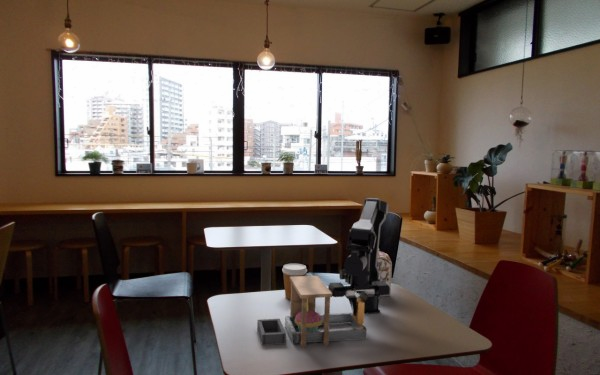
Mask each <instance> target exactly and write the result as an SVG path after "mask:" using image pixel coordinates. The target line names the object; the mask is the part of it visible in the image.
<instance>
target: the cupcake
mask: <svg viewBox="0 0 600 375" xmlns="http://www.w3.org/2000/svg"><path fill="white" fill-rule="evenodd" d="M319 314H320V313H319V312H318V311H316V310H315V311H312V310H308V298H307V317H306V331H318V328H319V326H321V325H323V324H322V317H321V315H319ZM301 315H302V311H301V312H299V313H298V314H297V315H296V316H295V323H296V324H297V327H298V332H301Z"/></svg>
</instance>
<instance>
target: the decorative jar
mask: <svg viewBox="0 0 600 375" xmlns="http://www.w3.org/2000/svg"><path fill="white" fill-rule="evenodd" d="M392 266H393V263H392V259H391V258H390V256H389V254H387V253H385V252H384V251H381V250H380V248H378V259H377V268H378V271H379V273H380V279H381V280H382V281H384V282H385V283H386V284H387V285H389V286H390V293H391V291H392V290H391V288H392V271H393V270H392V269H393V267H392ZM358 294H359V295H360V293H358ZM389 296H391V294H390V295H382V296H380V297H389ZM380 297H379V298H380Z"/></svg>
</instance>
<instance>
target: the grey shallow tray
mask: <svg viewBox="0 0 600 375" xmlns="http://www.w3.org/2000/svg"><path fill="white" fill-rule="evenodd" d="M356 297H357V307H356V316H354V315H353V312H352V311H351V312H338V313H330V314H329V325H332V324H351V326H352V327H353V328H337V329H329V338H328V342H335V341H336V342H338V341H353V340H365V339H367V334H368V333H367V327H366V326H365V325H364V322H365V313H364V304H365V303H364V302H363V301H362V300H361V299H360V298H359V297H358V296H356ZM319 315H321V317H322V324H321V325H324V313H321V314H320V313H319ZM284 320H285V321H284V326H285V329H286V331H287V332H288V335H289V337H290V339H291V342H292V344H301V332H299V331H296V329H295V327H296V326H297V324H296V323H295V316H290V315H285V318H284ZM297 327H298V326H297ZM323 335H324V329H323V330H322V329H321V330H316V331H306V344H308V343H323Z"/></svg>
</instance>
